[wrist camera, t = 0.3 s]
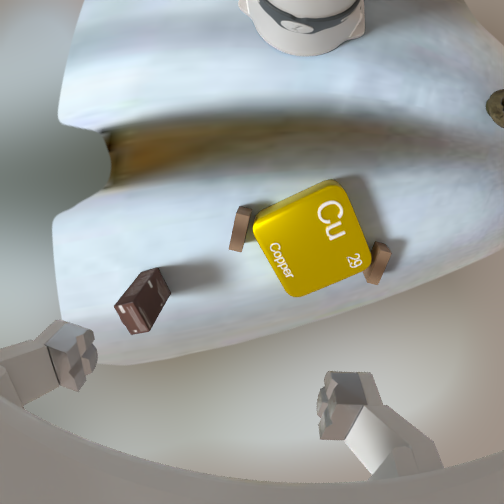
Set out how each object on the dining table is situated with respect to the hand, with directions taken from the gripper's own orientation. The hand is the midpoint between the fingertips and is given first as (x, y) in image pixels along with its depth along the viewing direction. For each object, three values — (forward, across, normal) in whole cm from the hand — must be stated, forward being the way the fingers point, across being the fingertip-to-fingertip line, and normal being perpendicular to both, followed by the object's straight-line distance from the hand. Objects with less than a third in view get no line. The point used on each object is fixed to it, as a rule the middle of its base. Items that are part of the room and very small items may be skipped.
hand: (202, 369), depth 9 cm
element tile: (+40, -9, +6) cm, 42 cm away
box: (+42, +17, +19) cm, 49 cm away
